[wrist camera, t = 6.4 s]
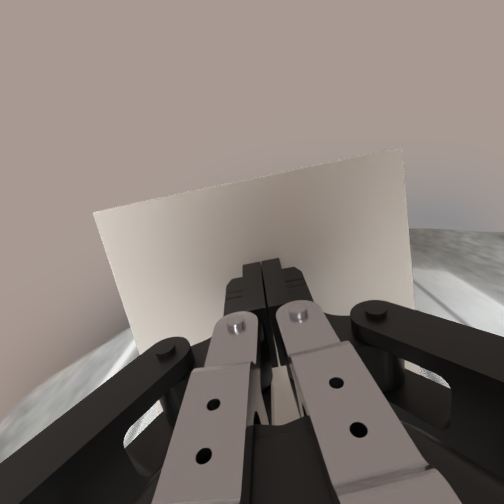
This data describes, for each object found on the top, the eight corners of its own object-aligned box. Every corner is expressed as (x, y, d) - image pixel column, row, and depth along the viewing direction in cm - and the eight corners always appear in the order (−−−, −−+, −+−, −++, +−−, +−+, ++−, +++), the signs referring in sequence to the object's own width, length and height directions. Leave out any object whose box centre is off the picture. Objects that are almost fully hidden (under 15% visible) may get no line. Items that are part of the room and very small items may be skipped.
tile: (399, 379, 17) (376, 151, 14) (423, 414, 15) (402, 147, 12) (184, 416, 18) (119, 205, 15) (173, 456, 15) (92, 212, 12)
